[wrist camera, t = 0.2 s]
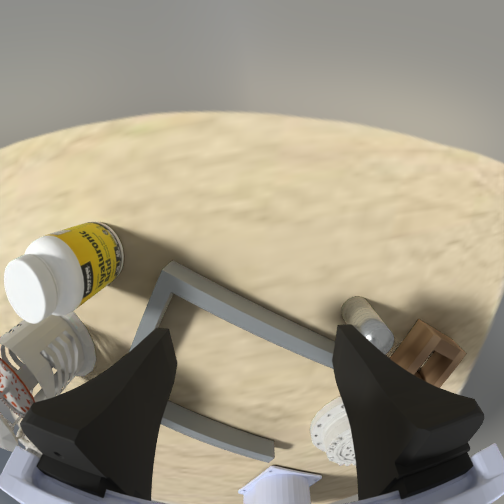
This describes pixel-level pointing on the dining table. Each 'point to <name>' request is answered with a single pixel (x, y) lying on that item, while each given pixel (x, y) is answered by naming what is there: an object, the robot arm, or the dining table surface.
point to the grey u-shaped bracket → (243, 316)
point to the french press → (41, 365)
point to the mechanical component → (333, 433)
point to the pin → (368, 323)
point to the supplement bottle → (63, 271)
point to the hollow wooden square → (420, 348)
